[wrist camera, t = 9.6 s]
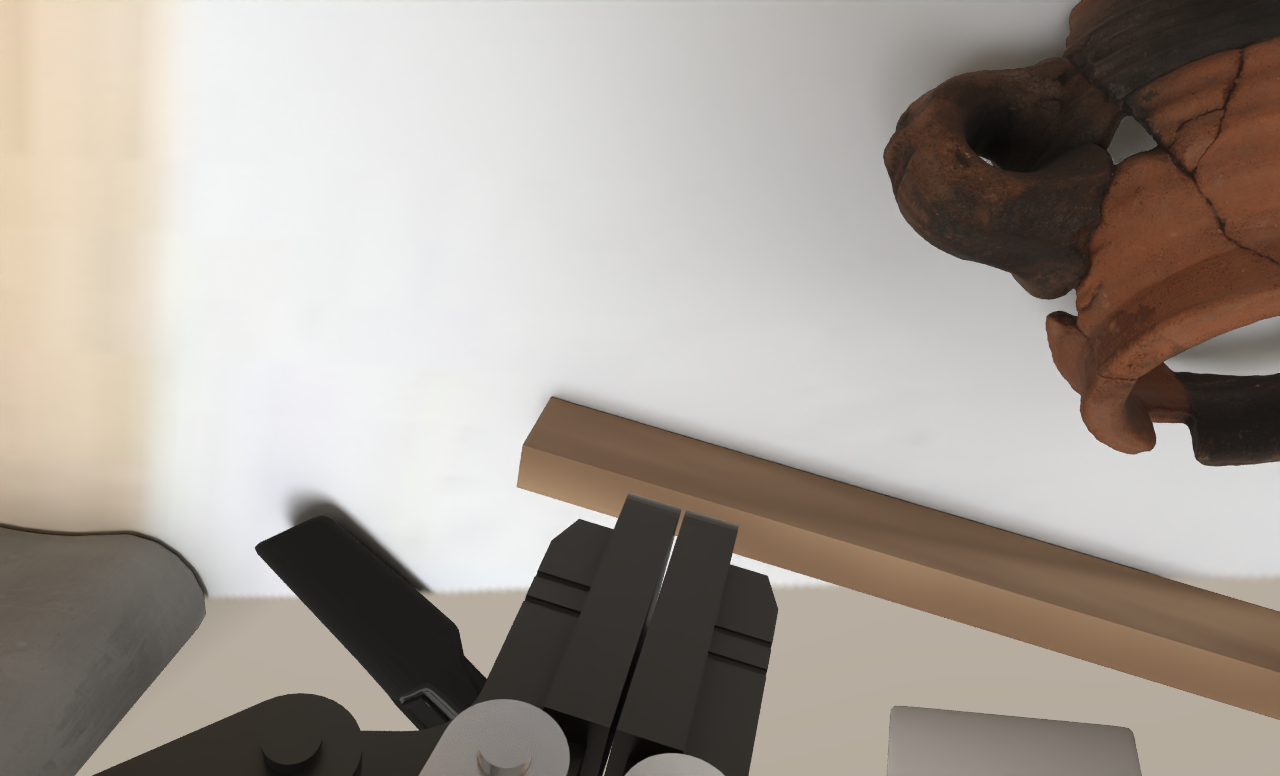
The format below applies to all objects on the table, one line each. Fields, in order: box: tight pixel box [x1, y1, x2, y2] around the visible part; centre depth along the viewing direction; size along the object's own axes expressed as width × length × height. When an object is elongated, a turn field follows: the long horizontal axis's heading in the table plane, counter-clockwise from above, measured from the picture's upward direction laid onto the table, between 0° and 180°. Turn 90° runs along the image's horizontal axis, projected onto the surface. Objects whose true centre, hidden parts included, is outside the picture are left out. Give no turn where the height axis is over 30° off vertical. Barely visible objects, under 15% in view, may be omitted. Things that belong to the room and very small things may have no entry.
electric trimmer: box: [255, 516, 487, 730], centre depth 37 cm, size 4×16×3 cm, turn 36°
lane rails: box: [517, 397, 1280, 720], centre depth 24 cm, size 19×25×2 cm
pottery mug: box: [883, 0, 1280, 466], centre depth 21 cm, size 12×10×8 cm
